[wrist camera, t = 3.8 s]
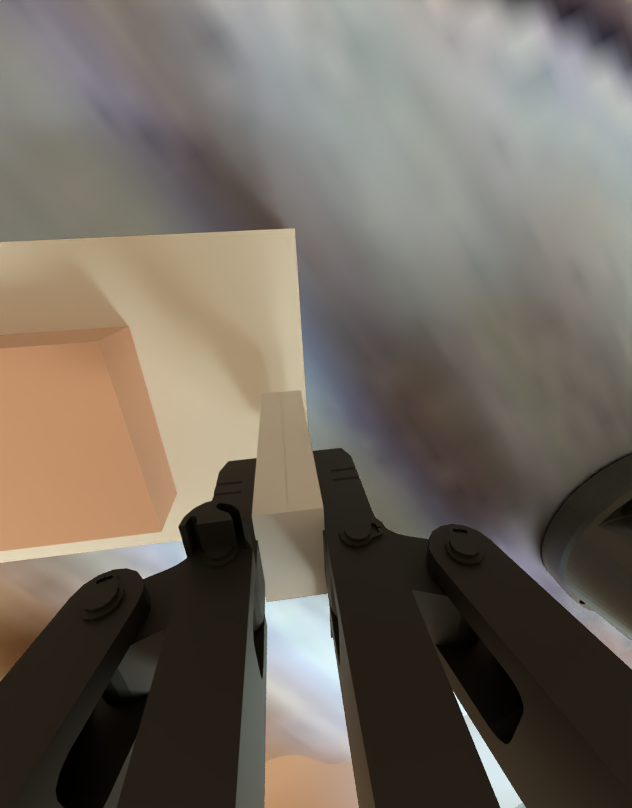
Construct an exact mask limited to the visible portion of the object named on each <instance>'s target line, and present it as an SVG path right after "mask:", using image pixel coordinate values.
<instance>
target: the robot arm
mask: <svg viewBox="0 0 632 808" xmlns="http://www.w3.org/2000/svg"><path fill="white" fill-rule="evenodd" d="M178 528H179V531H180V535H181V538H182V541H183V544H184V548H185V551H186V554H187V559H185V560H184V561H182V562H181V563H179V564H178V565H176V566H174V567H172V568H170V569H168V570H165V571H163V572H160V573H158V574H155V575H153V576H150V577H148V578H145V579H142V577H141V576H140V575H139V573H138V572H137V571H134V570H130V569H127V568H126V569H115V570H111V571H109V572H106V573H103V574H101V575H98V576H97V577H95V578H94V579H92V580H90V581H89V582H87V583H86V584H84V585H83V586H82V587H81V588H80V589H79V590H78V591H77V592H76V593H75V594H74V595H73V596H72V597H71V598H70V599H69V600H68V601H67V602H66V604H65V605H64V606H63V607H62V608H61V610H60V611H59V612H58V613H57V614H56V616H55V617H54V618H53V619H52V620H51V622H50V623H49V624H48V625H47V626H46V628H45V629H44V630H43V631H42V632H41V634H40V635H39V636H38V637H37V638H36V640H35V641H34V642H33V643H32V644H31V646H30V647H29V648H28V649H27V650H26V652H25V653H24V654H23V655H22V657H21V658H20V659H19V660H18V661H17V663H16V664H15V665H14V666H13V667H12V669H11V670H10V671H9V672H8V673H7V675H6V676H5V677H4V678H3V679H2V681H1V682H0V808H264V794H265V787H264V786H265V729H266V663H267V624H266V619H265V597H266V602H271V601H278V600H285V599H292V598H299V597H306V596H313V595H320V594H327V593H328V597H329V605H330V626H331V638H332V637H333V640H334V646H335V653H336V660H337V666H338V673H339V679H340V686H341V692H342V699H343V706H344V712H345V719H346V725H347V732H348V738H349V745H350V752H351V758H352V765H353V771H354V778H355V784H356V791H357V797H358V804H359V808H500V806H499V803H498V801H497V798H496V796H495V793H494V791H493V789H492V786H491V784H490V781H489V779H488V776H487V774H486V771H485V769H484V766H483V764H482V762H481V759H480V757H479V754H478V752H477V750H476V747H475V745H474V742H473V740H472V737H471V735H470V732H469V730H468V727H467V725H466V722H465V720H464V717H463V715H462V712H461V710H460V708H459V705H458V703H457V700H456V698H455V695H456V696H457V698H458V699H459V701H460V703H461V704H462V706H463V707H464V709H465V711H466V712H467V714H468V716H469V717H470V719H471V720H472V722H473V724H474V725H475V727H476V728H477V730H478V731H479V733H480V735H481V736H482V738H483V740H484V741H485V743H486V744H487V746H488V747H489V749H490V751H491V752H492V754H493V755H494V757H495V759H496V760H497V762H498V764H499V765H500V767H501V768H502V770H503V772H504V773H505V775H506V777H507V778H508V780H509V781H510V783H511V785H512V786H513V788H514V789H515V791H516V793H517V794H518V796H519V797H520V799H521V801H522V802H523V803H522V804H520V805H518V806H517V807H516V808H632V669H630V668H629V667H628V666H627V665H626V664H625V663H624V662H623V661H622V660H621V659H620V658H618V657H617V656H616V655H615V654H614V653H613V652H612V651H611V650H610V649H609V648H608V647H607V646H605V645H604V644H603V643H602V642H601V641H600V640H599V639H598V638H597V637H596V636H595V635H593V634H592V633H591V632H590V631H589V630H588V629H587V628H586V627H585V626H584V625H583V624H581V623H580V622H579V621H578V620H577V619H576V618H575V617H574V616H573V615H572V614H571V613H569V612H568V611H567V610H566V609H565V608H564V607H563V606H562V605H561V604H560V603H559V602H557V601H556V600H555V599H554V598H553V597H552V596H551V595H550V594H549V593H548V592H547V591H545V590H544V589H543V588H542V587H541V586H540V585H539V584H538V583H537V582H536V581H535V580H534V579H532V578H531V577H530V576H529V575H528V574H527V573H526V572H525V571H524V570H523V569H522V568H520V567H519V566H518V565H517V564H516V563H515V562H514V561H513V560H512V559H511V558H510V557H508V556H507V555H506V554H505V553H504V552H503V551H502V550H501V549H500V548H499V547H498V546H496V545H495V544H494V543H493V542H492V541H491V540H490V539H489V538H487V537H486V536H484V535H483V534H482V533H480V532H479V531H477V530H474V529H472V528H469V527H467V526H462V525H455V524H450V525H444V526H440V527H439V528H437V529H435V530H434V531H433V532H432V534H431V536H430V538H429V539H423V538H416V537H409V536H404V535H400V534H397V533H394V532H392V531H390V530H388V529H387V528H385V526H384V525H383V523H382V522H381V521H379V520H378V519H376V518H375V516H374V514H373V512H372V510H371V507H370V504H369V502H368V499H367V497H366V494H365V491H364V489H363V486H362V484H361V481H360V479H359V476H358V473H357V470H356V469H355V465H354V463H353V460H352V457H351V456H350V455H349V454H348V453H346V452H345V451H344V450H343V449H342V448H337V449H328V450H318V451H312V446H311V441H310V436H309V431H308V426H307V421H306V416H305V411H304V406H303V401H302V395H301V390H297V391H286V392H274V393H263V394H262V400H261V412H260V424H259V435H258V447H257V458H253V459H243V460H234V461H228V462H227V463H226V465H225V466H224V467H223V468H222V469H221V470H220V472H219V475H218V479H217V483H216V487H215V490H214V497H213V498H212V501H209V502H205V503H203V504H201V505H199V506H197V507H195V508H194V509H192V510H191V511H190V512H189V513H188V514H187V515H185V516H184V518H183V519H182V521H181V523H180V524H179V526H178ZM542 558H543V563H544V565H545V567H546V569H547V571H548V572H549V573H550V575H551V576H552V577H553V578H554V579H555V580H556V582H557V583H558V584H559V585H560V586H561V587H562V588H563V590H564V591H565V592H566V593H567V594H568V595H569V596H570V597H571V598H572V599H573V600H575V601H576V602H577V603H579V604H580V605H582V606H583V607H585V608H587V609H589V610H592V611H595V612H596V613H598V614H599V615H600V616H601V617H603V618H604V619H605V620H606V621H608V622H609V623H610V624H611V625H612V626H614V627H615V628H616V629H617V630H619V631H620V632H621V633H623V634H624V635H625V636H627V637H628V638H629V639H630V640H632V454H631V455H629V456H627V457H625V458H623V459H621V460H619V461H617V462H615V463H613V464H611V465H609V466H608V467H606V468H604V469H603V470H601V471H600V472H598V473H597V474H595V475H594V476H593V477H591V478H590V479H589V480H587V481H586V482H585V483H584V484H583V485H581V486H580V487H579V488H578V489H577V490H576V491H575V492H574V493H573V494H572V495H571V496H570V497H569V498H568V499H567V500H566V501H565V502H564V504H563V505H562V506H561V507H560V509H559V510H558V511H557V513H556V514H555V516H554V517H553V519H552V521H551V523H550V524H549V527H548V529H547V531H546V534H545V537H544V540H543V545H542ZM453 691H454V693H455V695H454V693H453Z"/></svg>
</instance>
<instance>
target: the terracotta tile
mask: <svg viewBox="0 0 632 808" xmlns="http://www.w3.org/2000/svg"><path fill="white" fill-rule="evenodd" d="M176 495H177V491H176V488H175V484H174V481H173V477H172V474H171V470H170V467H169V463H168V460H167V456H166V453H165V449H164V446H163V443H162V439H161V436H160V432H159V429H158V425H157V422H156V418H155V415H154V411H153V408H152V404H151V401H150V397H149V394H148V390H147V387H146V383H145V380H144V376H143V373H142V369H141V366H140V362H139V359H138V355H137V352H136V349H135V345H134V342H133V338H132V335H131V331H130V328H129V326H125V327H110V328H96V329H81V330H67V331H52V332H38V333H23V334H9V335H0V551H8V550H16V549H24V548H32V547H41V546H49V545H57V544H65V543H73V542H82V541H90V540H98V539H106V538H115V537H123V536H131V535H139V534H148V533H156V532H162V530H163V527H164V525H165V522H166V520H167V517H168V515H169V512H170V510H171V507H172V505H173V503H174V500H175V498H176Z"/></svg>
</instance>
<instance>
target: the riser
mask: <svg viewBox="0 0 632 808" xmlns="http://www.w3.org/2000/svg"><path fill="white" fill-rule="evenodd" d="M125 326H129V328H130V331H131V335H132V338H133V342H134V345H135V349H136V352H137V355H138V359H139V362H140V366H141V369H142V373H143V376H144V380H145V383H146V387H147V390H148V394H149V397H150V401H151V404H152V408H153V411H154V415H155V418H156V422H157V425H158V429H159V432H160V436H161V439H162V443H163V446H164V449H165V453H166V456H167V460H168V463H169V467H170V470H171V474H172V477H173V481H174V484H175V488H176V491H177V495H176V498H175V500H174V503H173V505H172V507H171V510H170V512H169V515H168V517H167V520H166V522H165V525H164V527H163V530H162V532H156V533H148V534H139V535H131V536H123V537H115V538H106V539H98V540H90V541H82V542H73V543H65V544H57V545H49V546H41V547H32V548H24V549H16V550H8V551H0V563H2V562H10V561H18V560H26V559H34V558H42V557H50V556H58V555H67V554H75V553H83V552H91V551H99V550H107V549H115V548H123V547H131V546H139V545H147V544H155V543H163V542H171V541H179V540H182V538H181V535H180V531H179V528H178V526H179V524H180V523H181V521H182V519H183V518H184V516H185V515H187V514H188V513H189V512H190V511H191V510H192V509H194V508H195V507H197V506H199V505H201V504H203V503H205V502H209V501H212V498H213V497H214V490H215V487H216V483H217V479H218V475H219V472H220V470H221V469H222V468H223V467H224V466H225V465H226V463H227V462H228V461H234V460H243V459H253V458H257V447H258V435H259V424H260V412H261V400H262V394H263V393H274V392H286V391H297V390H301V395H302V401H303V406H304V411H305V416H306V421H307V426H308V420H307V405H306V390H305V375H304V360H303V345H302V330H301V315H300V300H299V285H298V270H297V255H296V240H295V228H292V229H270V230H248V231H227V232H205V233H184V234H162V235H140V236H119V237H97V238H76V239H54V240H32V241H11V242H0V335H9V334H23V333H38V332H52V331H67V330H81V329H96V328H110V327H125Z"/></svg>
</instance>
